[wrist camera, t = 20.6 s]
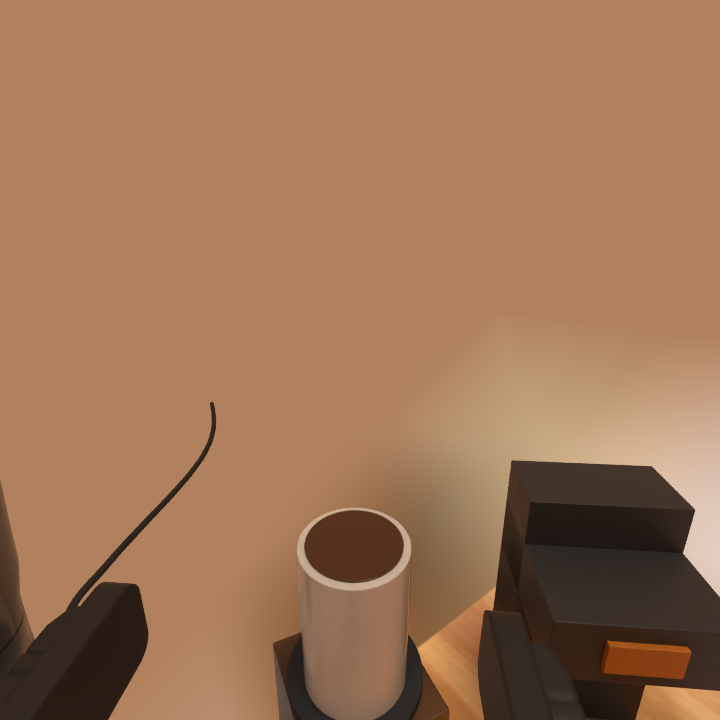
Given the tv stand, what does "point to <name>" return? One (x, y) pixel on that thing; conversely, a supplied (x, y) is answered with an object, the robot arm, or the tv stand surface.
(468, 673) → the tv stand surface
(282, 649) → the brown box
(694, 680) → the coffee machine
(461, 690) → the tv stand surface
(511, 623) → the robot arm
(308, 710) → the coaster
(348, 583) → the white cup
